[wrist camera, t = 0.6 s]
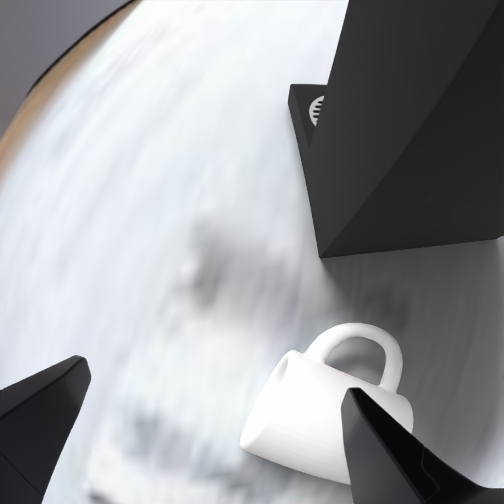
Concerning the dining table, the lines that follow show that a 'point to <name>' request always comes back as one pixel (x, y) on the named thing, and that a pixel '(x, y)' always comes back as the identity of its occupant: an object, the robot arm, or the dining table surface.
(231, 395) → the dining table surface
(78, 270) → the dining table surface
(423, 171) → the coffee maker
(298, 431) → the mug
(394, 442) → the robot arm
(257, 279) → the dining table surface
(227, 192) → the dining table surface
